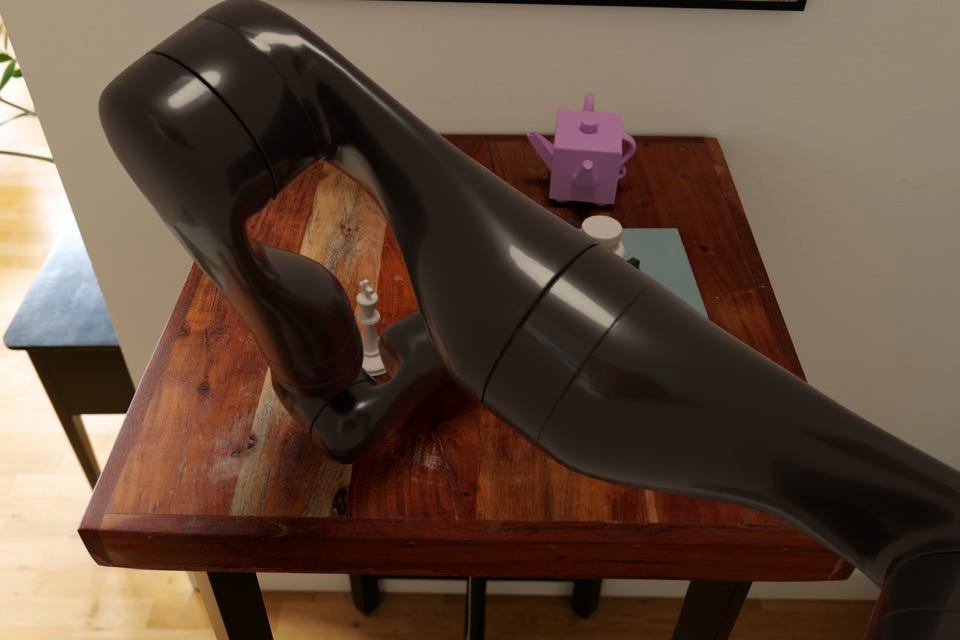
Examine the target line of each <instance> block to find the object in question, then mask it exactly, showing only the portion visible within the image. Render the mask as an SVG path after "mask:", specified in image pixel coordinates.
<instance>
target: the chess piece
mask: <svg viewBox="0 0 960 640" xmlns="http://www.w3.org/2000/svg"><path fill="white" fill-rule="evenodd" d="M358 286H359V288H360V289H362V291H361V292H359V293H358V294H357V295H356V298H355V300H356V303H357V304H358V306H359V308H360V311H359V312H358V314H357V318H356V320H357V321H358V322H359V323H360V324H362V325H363V335H362V342H363V349H364V359H363V365H362V366H363V368H364V369H365V370H366V371H367V372H368V373H369V374H370V375H371V376H372V377H376V376H381V375H383V374H387V372H386V370H385V368H384V366H383V364H382V361H381V359H380V355H379V350H378V341H379V337H380V336H378V332H377V328H376V324H377V323H378V322H379V321H380V318H381V314H380V312H379V310H377V309H376V307H377V304H378V301H379V295H378V293H376V292H375V291H374V289H373V287H372V288H371V286H370V281H369V280H368V279H367V278H365V279H363V280H361V281H360V282H358Z"/></svg>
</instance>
